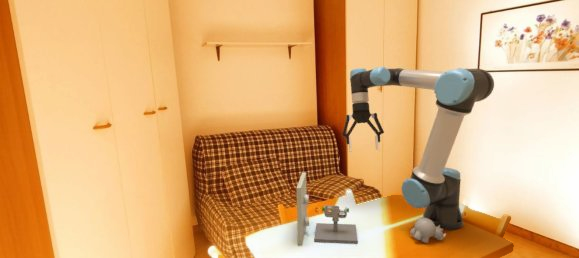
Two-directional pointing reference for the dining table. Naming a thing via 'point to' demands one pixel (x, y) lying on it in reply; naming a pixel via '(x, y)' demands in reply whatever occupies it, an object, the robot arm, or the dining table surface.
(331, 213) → the mechanical component
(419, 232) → the chubby cartoon animal
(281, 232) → the dining table surface
